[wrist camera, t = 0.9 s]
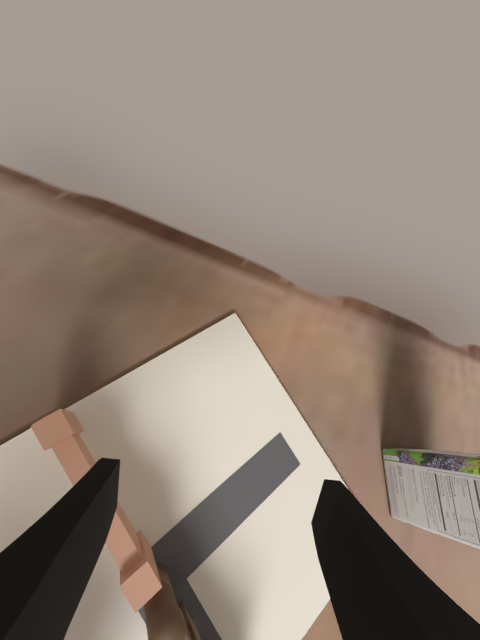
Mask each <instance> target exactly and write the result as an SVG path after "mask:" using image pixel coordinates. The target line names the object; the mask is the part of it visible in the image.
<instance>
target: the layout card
mask: <svg viewBox="0 0 480 640" xmlns="http://www.w3.org/2000/svg"><path fill="white" fill-rule="evenodd" d="M64 410H67V411H70V412H73V413H74V415H75V416H76V418H77V420H78V422H79V423H80V425H81V427H82V428H83V430H84V431H83V432H81V433H79V434H80V436H81V438H82V440H83V441H84V443H85V445H86V447H87V448H88V450H89V452H90V454H91V455H92V457H93V459H94V461H95V462H97V461H98V460H99V459H101V458H111V459H120V472H119V486H118V500H117V501H118V502H119V504H120V506H121V508H122V509H123V511H124V513H125V515H126V516H127V518H128V520H129V522H130V523H131V525H132V527H133V529H134V530H135V532H136V533H137V532H138V531H139V530H140V529H141V531H142V533H143V535H144V536H145V538H146V540H147V541H148V543H149V545H150V547H151V548H152V551H153V555H154V559H155V562H159V563H162V564H163V565H164V566H165V568H166V571H167V574H168V577H169V580H170V583H171V586H172V589H173V592H174V595H175V598H176V601H177V604H178V605H179V604H180V603H181V602H182V601H183V603H184V605H185V606H186V608H187V610H188V612H189V613H190V615H191V617H192V619H193V620H194V622H195V625H196V628H197V630H198V633H199V635H200V638H201V640H301V639H302V638H303V636H304V635H305V634H306V632H307V631H308V629H309V628H310V627H311V625H312V624H313V622H314V621H315V619H316V618H317V617H318V615H319V614H320V612H321V611H322V610H323V608H324V607H325V605H326V604H327V603H328V601H329V600H330V596H329V593H328V589H327V586H326V583H325V580H324V576H323V573H322V569H321V566H320V563H319V559H318V556H317V551H316V546H315V541H314V536H313V530H312V524H311V522H312V518H313V515H314V512H315V508H316V505H317V502H318V498H319V495H320V492H321V488H322V485H323V482H324V479H328V480H338V481H341V482H342V483H343V484H344V485H345V483H344V482H343V480H342V479H341V477H340V475H339V474H338V472H337V471H336V469H335V468H334V466H333V465H332V463H331V461H330V460H329V458H328V457H327V455H326V454H325V452H324V450H323V449H322V447H321V446H320V444H319V443H318V441H317V440H316V438H315V436H314V435H313V433H312V432H311V430H310V429H309V427H308V425H307V424H306V422H305V421H304V419H303V418H302V416H301V415H300V413H299V411H298V410H297V408H296V407H295V405H294V404H293V402H292V400H291V399H290V397H289V396H288V394H287V393H286V391H285V390H284V388H283V386H282V385H281V383H280V382H279V380H278V379H277V377H276V375H275V374H274V372H273V371H272V369H271V368H270V366H269V365H268V363H267V361H266V360H265V358H264V357H263V355H262V354H261V352H260V350H259V349H258V347H257V346H256V344H255V343H254V341H253V340H252V338H251V336H250V335H249V333H248V332H247V330H246V329H245V327H244V325H243V324H242V322H241V321H240V319H239V318H238V316H237V315H236V313H234V314H232V315H230V316H228V317H227V318H225V319H223V320H221V321H220V322H218V323H216V324H214V325H212V326H211V327H209V328H207V329H205V330H204V331H202V332H200V333H198V334H197V335H195V336H193V337H191V338H190V339H188V340H186V341H184V342H182V343H181V344H179V345H177V346H175V347H174V348H172V349H170V350H168V351H167V352H165V353H163V354H161V355H159V356H158V357H156V358H154V359H152V360H151V361H149V362H147V363H145V364H144V365H142V366H140V367H138V368H136V369H135V370H133V371H131V372H129V373H128V374H126V375H124V376H122V377H121V378H119V379H117V380H115V381H113V382H112V383H110V384H108V385H106V386H105V387H103V388H101V389H99V390H98V391H96V392H94V393H92V394H91V395H89V396H87V397H85V398H83V399H82V400H80V401H78V402H76V403H75V404H73V405H71V406H69V407H68V408H66V409H64ZM345 486H346V485H345ZM72 487H73V485H72V483H71V481H70V479H69V478H68V476H67V474H66V472H65V470H64V469H63V467H62V465H61V463H60V462H59V460H58V458H57V456H56V454H55V453H54V451H53V449H52V448H50V449H48V450H45V451H44V450H43V448H42V446H41V444H40V443H39V441H38V439H37V437H36V435H35V434H34V432H33V430H32V428H30V429H29V430H27V431H25V432H23V433H22V434H20V435H18V436H16V437H14V438H13V439H11V440H9V441H7V442H6V443H4V444H2V445H0V552H1V551H3V550H4V549H5V548H6V547H7V546H9V545H10V544H11V543H12V542H13V541H15V540H16V539H17V538H18V537H19V536H20V535H21V534H23V533H24V532H25V531H26V530H27V529H28V528H29V527H30V526H32V525H33V524H34V523H35V522H36V521H37V520H38V519H40V518H41V517H42V516H43V515H44V514H45V513H46V512H47V511H48V510H49V509H50V508H51V507H52V506H54V505H55V504H56V503H57V502H58V501H59V500H60V499H61V498H62V497H63V496H64V495H65V494H66V493H67V492H68V491H69V490H70V489H71V488H72ZM346 487H347V486H346ZM347 489H348V488H347ZM64 640H148V635H147V628H146V620H145V613H144V606H143V607H142V608H141V609H139V610H138V611H137V612H136V613H135V612H134V610H133V608H132V607H131V605H130V603H129V601H128V599H127V598H126V596H125V594H124V592H123V591H122V589H121V587H120V568H119V566H118V564H117V563H116V561H115V559H114V557H113V556H112V554H111V552H110V550H109V549H108V547H107V545H106V543H105V544H104V547H103V549H102V552H101V554H100V556H99V559H98V561H97V563H96V566H95V568H94V570H93V572H92V575H91V577H90V579H89V582H88V584H87V586H86V589H85V591H84V593H83V596H82V598H81V600H80V602H79V605H78V607H77V609H76V612H75V614H74V616H73V619H72V621H71V623H70V626H69V628H68V630H67V633H66V635H65V638H64Z"/></svg>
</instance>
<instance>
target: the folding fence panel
mask: <svg viewBox="0 0 480 640" xmlns="http://www.w3.org/2000/svg"><path fill="white" fill-rule="evenodd" d="M30 426H31V428H32V430H33V432H34V434H35V435H36V437H37V439H38V441H39V443H40V444H41V446H42V448H43V450H44V451H45V450H48V449H50V448H52V449H53V451H54V453H55V454H56V456H57V458H58V460H59V462H60V463H61V465H62V467H63V469H64V470H65V472H66V474H67V476H68V478H69V479H70V481H71V483H72V485H73V486H74V485H75V484H76V483H77V482H78V481H79V480H80V479H81V478H82V477H83V476H84V475H85V474H86V473H87V472H88V471H89V470H90V469H91V467H92V466H93V465H94V464H95V463H96V462H95V461H94V459H93V457H92V455H91V454H90V452H89V450H88V448H87V447H86V445H85V443H84V441H83V440H82V438H81V436H80V434H79V433H81V432H83V431H84V430H83V428H82V427H81V425H80V423H79V422H78V420H77V418H76V416H75V415H74V413H73V412H70V411H67V410H63V409H59V410H56V411H55V412H53V413H51V414H49V415H47V416H46V417H44V418H42V419H40V420H39V421H37V422H35V423H34V424H32V425H30ZM105 543H106V545H107V547H108V549H109V550H110V552H111V554H112V556H113V557H114V559H115V561H116V563H117V564H118V566H119V568H120V587H121V589H122V591H123V592H124V594H125V596H126V598H127V599H128V601H129V603H130V605H131V607H132V608H133V610H134V612H135V613H136V612H137V611H138V610H139V609H141V608H142V607H143V606H144V605H145V604H146V603H147V602H148V601H149V600H150V599H151V598H152V597H153V596H154V595H155V594H156V593H157V592H158V591H159V590H160V589H161V588H162V584H161V581H160V577H159V573H158V570H157V566H156V562H155V559H154V555H153V551H152V548H151V547H150V545H149V543H148V541H147V540H146V538H145V536H144V535H143V533H142V531H141V529H140V530H139V531H138V532H137V533H136V532H135V530H134V529H133V527H132V525H131V523H130V522H129V520H128V518H127V516H126V515H125V513H124V511H123V509H122V508H121V506H120V504H119V502H118V501H117V509H116V512H115V515H114V518H113V521H112V524H111V527H110V530H109V533H108V536H107V539H106V542H105Z"/></svg>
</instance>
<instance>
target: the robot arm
mask: <svg viewBox="0 0 480 640" xmlns="http://www.w3.org/2000/svg"><path fill="white" fill-rule="evenodd" d="M119 472H120V459H111V458H101V459H99V460H98V461H97V462H96V463H95V464H94V465H93V466H92V467H91V469H90V470H89V471H88V472H87V473H86V474H85V475H84V476H83V477H82V478H81V479H80V480H79V481H78V482H77V483H76V484H75V485H74V486H73V487H72V488H71V489H70V490H69V491H68V492H67V493H66V494H65V495H64V496H63V497H62V498H61V499H60V500H59V501H58V502H57V503H56V504H55V505H54V506H52V507H51V508H50V509H49V510H48V511H47V512H46V513H45V514H44V515H43V516H42V517H41V518H40V519H38V520H37V521H36V522H35V523H34V524H33V525H32V526H30V527H29V528H28V529H27V530H26V531H25V532H24V533H23V534H21V535H20V536H19V537H18V538H17V539H16V540H15V541H13V542H12V543H11V544H10V545H9V546H7V547H6V548H5V549H4V550H3V551H1V552H0V640H64V638H65V635H66V633H67V630H68V628H69V626H70V623H71V621H72V619H73V616H74V614H75V612H76V609H77V607H78V605H79V602H80V600H81V598H82V596H83V593H84V591H85V589H86V586H87V584H88V582H89V579H90V577H91V575H92V572H93V570H94V568H95V566H96V563H97V561H98V559H99V556H100V554H101V552H102V549H103V547H104V544H105V542H106V539H107V536H108V533H109V530H110V527H111V524H112V521H113V518H114V515H115V512H116V509H117V500H118V486H119ZM311 524H312V530H313V536H314V541H315V546H316V551H317V556H318V559H319V563H320V566H321V569H322V573H323V576H324V580H325V583H326V586H327V589H328V593H329V596H330V599H331V602H332V606H333V609H334V612H335V615H336V619H337V622H338V625H339V629H340V632H341V635H342V638H343V640H480V624H479V623H478V622H476V621H475V620H474V619H473V618H472V617H471V616H470V615H469V614H467V613H466V612H465V611H464V610H463V609H462V608H461V607H460V606H458V605H457V604H456V603H455V602H454V601H453V600H452V599H451V598H450V597H449V596H448V595H447V594H446V593H444V592H443V591H442V590H441V589H440V588H439V587H438V586H437V585H436V584H435V583H434V582H433V581H432V580H431V579H430V578H429V577H428V576H427V575H426V574H425V573H424V572H423V571H422V570H421V569H420V568H419V567H418V566H417V565H416V564H415V563H414V562H413V561H412V560H411V559H410V558H409V557H408V556H407V555H406V554H405V553H404V552H403V551H402V550H401V549H400V548H399V546H398V545H397V544H396V543H395V542H394V541H393V540H392V539H391V538H390V537H389V536H388V534H387V533H386V532H385V531H384V530H383V529H382V528H381V527H380V526H379V524H378V523H377V522H376V521H375V520H374V519H373V518H372V516H371V515H370V514H369V513H368V512H367V511H366V509H365V508H364V507H363V506H362V505H361V504H360V503H359V501H358V500H357V499H356V498H355V497H354V496H353V494H352V493H351V492H350V491H349V490H348V489H347V487H346V486H345V485H344V484H343V483H342V482H341V481H338V480H328V479H324V482H323V485H322V488H321V492H320V495H319V498H318V502H317V505H316V508H315V512H314V515H313V518H312V522H311Z"/></svg>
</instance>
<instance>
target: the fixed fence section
mask: <svg viewBox="0 0 480 640" xmlns="http://www.w3.org/2000/svg"><path fill="white" fill-rule="evenodd" d="M156 566H157V570H158V573H159V577H160V581H161V584H162V588H161V589H160V590H159V591H158V592H157V593H156V594H155V595H154V596H153V597H152V598H151V599H150V600H149V601H148V602H147V603H146V604H145V605H144V613H145V620H146V628H147V635H148V640H201V638H200V635H199V633H198V630H197V628H196V625H195V622H194V620H193V619H192V617H191V615H190V613H189V612H188V610H187V608H186V606H185V605H184V603H183V601H182V602H181V603H180V604H179V605H178V604H177V601H176V598H175V595H174V592H173V589H172V586H171V583H170V580H169V577H168V574H167V571H166V568H165V566H164V565H163V564H162V563H159V562H156Z"/></svg>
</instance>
